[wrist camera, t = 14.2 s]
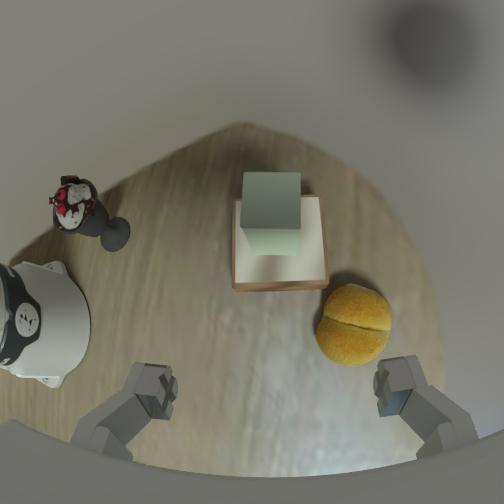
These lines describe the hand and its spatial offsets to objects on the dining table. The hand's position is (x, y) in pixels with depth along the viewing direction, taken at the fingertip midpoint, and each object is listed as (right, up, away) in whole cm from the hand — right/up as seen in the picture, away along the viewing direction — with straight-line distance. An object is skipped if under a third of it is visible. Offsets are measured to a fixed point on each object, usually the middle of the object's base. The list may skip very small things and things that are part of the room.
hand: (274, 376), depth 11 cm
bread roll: (+11, -4, +22) cm, 24 cm away
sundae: (-20, +7, +28) cm, 35 cm away
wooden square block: (+2, +5, +25) cm, 26 cm away
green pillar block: (+2, +7, +21) cm, 22 cm away
